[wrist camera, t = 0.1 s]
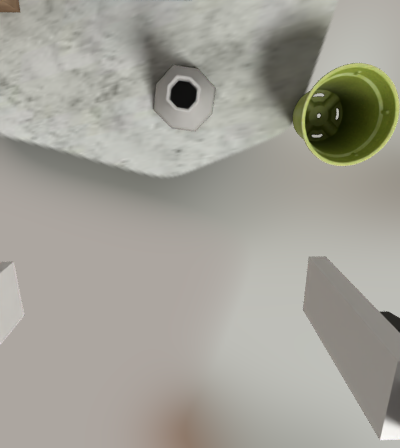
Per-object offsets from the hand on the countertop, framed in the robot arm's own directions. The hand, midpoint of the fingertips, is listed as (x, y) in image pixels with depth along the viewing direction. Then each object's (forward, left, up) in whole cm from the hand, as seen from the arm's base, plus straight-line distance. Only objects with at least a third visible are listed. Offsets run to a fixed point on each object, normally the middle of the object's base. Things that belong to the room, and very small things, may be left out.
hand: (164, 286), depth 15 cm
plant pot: (-7, +17, -28) cm, 34 cm away
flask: (-9, +1, -28) cm, 30 cm away
